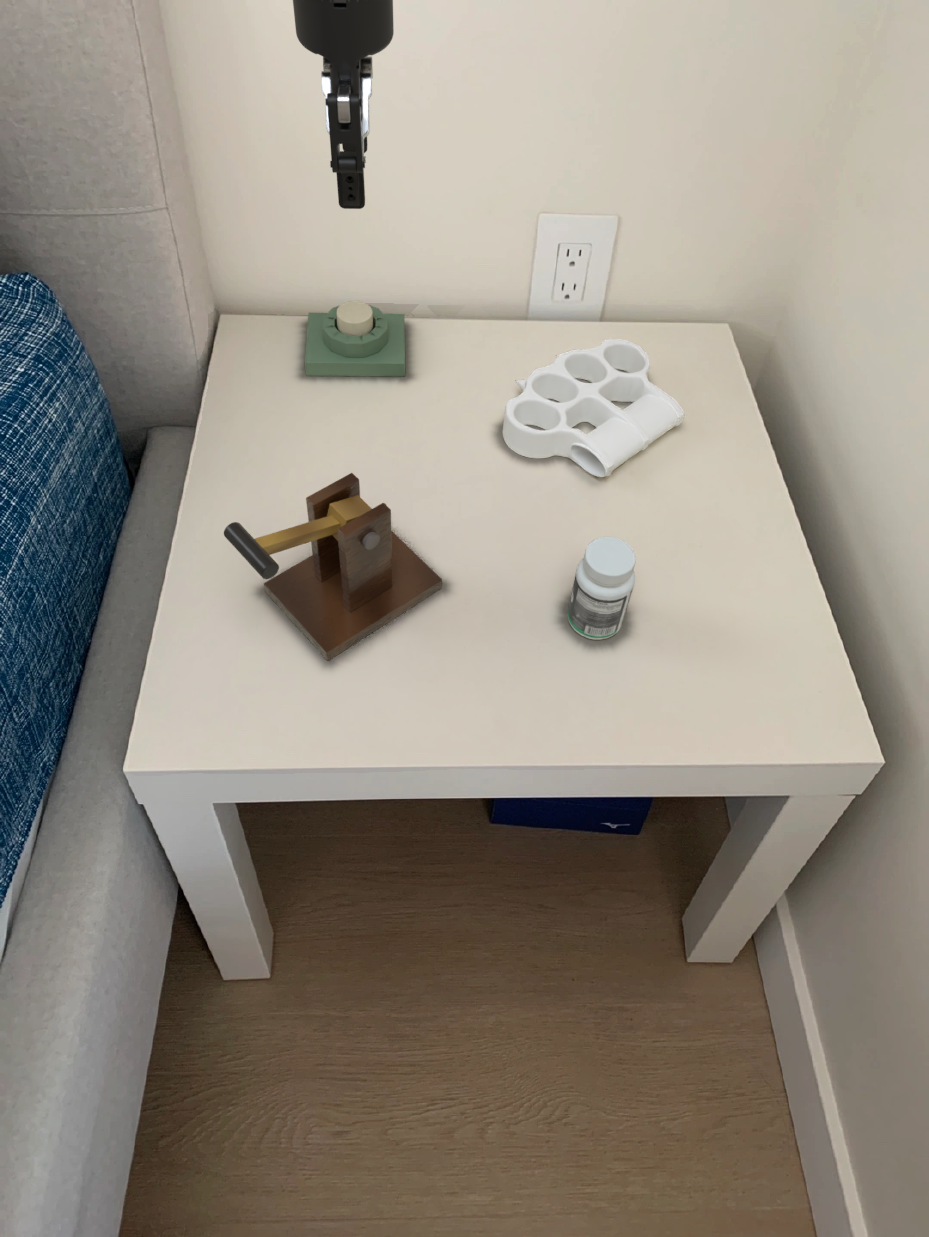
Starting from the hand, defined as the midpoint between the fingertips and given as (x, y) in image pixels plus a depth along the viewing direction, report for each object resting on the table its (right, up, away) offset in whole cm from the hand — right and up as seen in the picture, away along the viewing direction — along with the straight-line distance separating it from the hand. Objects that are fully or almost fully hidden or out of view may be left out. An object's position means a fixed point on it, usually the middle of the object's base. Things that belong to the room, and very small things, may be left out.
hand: (353, 178), depth 85 cm
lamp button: (-1, -9, +14) cm, 16 cm away
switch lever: (-3, -33, -11) cm, 35 cm away
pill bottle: (+21, -39, -3) cm, 44 cm away
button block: (-2, -11, +16) cm, 19 cm away
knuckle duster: (+22, -19, +12) cm, 31 cm away
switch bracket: (0, -36, -2) cm, 36 cm away
